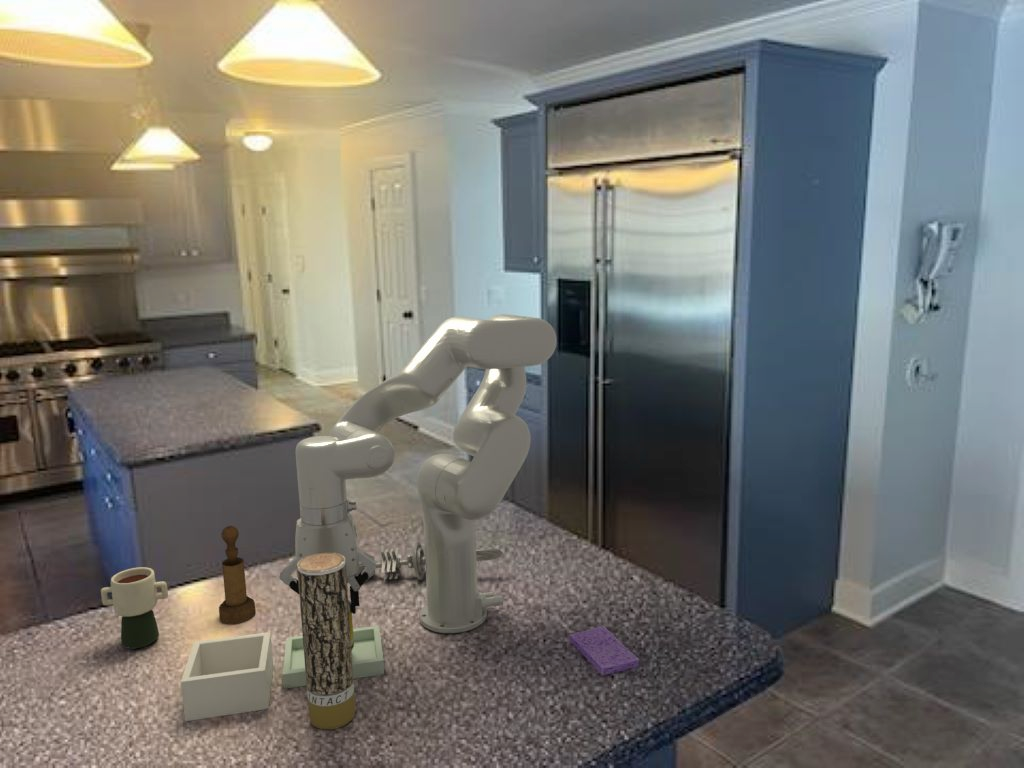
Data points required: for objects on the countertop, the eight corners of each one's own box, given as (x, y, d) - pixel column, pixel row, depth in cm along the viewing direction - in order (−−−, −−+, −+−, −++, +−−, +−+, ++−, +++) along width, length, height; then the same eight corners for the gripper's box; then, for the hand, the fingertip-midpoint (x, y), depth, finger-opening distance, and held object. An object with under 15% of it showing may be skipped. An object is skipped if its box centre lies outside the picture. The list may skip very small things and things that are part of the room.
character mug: (177, 629, 144) (169, 563, 142) (168, 648, 137) (160, 580, 135) (113, 636, 142) (105, 570, 139) (102, 656, 135) (92, 587, 133)
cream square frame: (273, 667, 130) (270, 631, 129) (268, 708, 119) (264, 670, 118) (198, 677, 128) (194, 641, 127) (185, 721, 116) (180, 681, 115)
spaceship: (499, 552, 156) (500, 525, 162) (330, 569, 158) (337, 541, 165) (505, 580, 160) (505, 552, 167) (340, 596, 163) (347, 568, 169)
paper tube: (313, 706, 119) (301, 553, 115) (358, 702, 120) (348, 551, 115) (305, 733, 113) (292, 573, 108) (353, 730, 113) (342, 570, 109)
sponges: (602, 678, 126) (602, 667, 126) (568, 641, 137) (568, 632, 137) (639, 669, 128) (639, 658, 128) (603, 634, 140) (603, 624, 140)
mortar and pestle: (243, 625, 145) (235, 534, 142) (212, 622, 146) (203, 532, 143) (262, 608, 151) (254, 521, 148) (232, 606, 153) (223, 519, 149)
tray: (379, 638, 139) (378, 625, 139) (384, 674, 128) (383, 660, 127) (287, 650, 136) (286, 637, 135) (283, 688, 124) (282, 674, 124)
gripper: (376, 499, 132) (382, 596, 136) (270, 509, 128) (279, 609, 132) (379, 514, 125) (385, 616, 128) (267, 525, 121) (276, 631, 125)
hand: (331, 612), depth 130 cm, fingers closed on pill bottle, 6 cm apart
